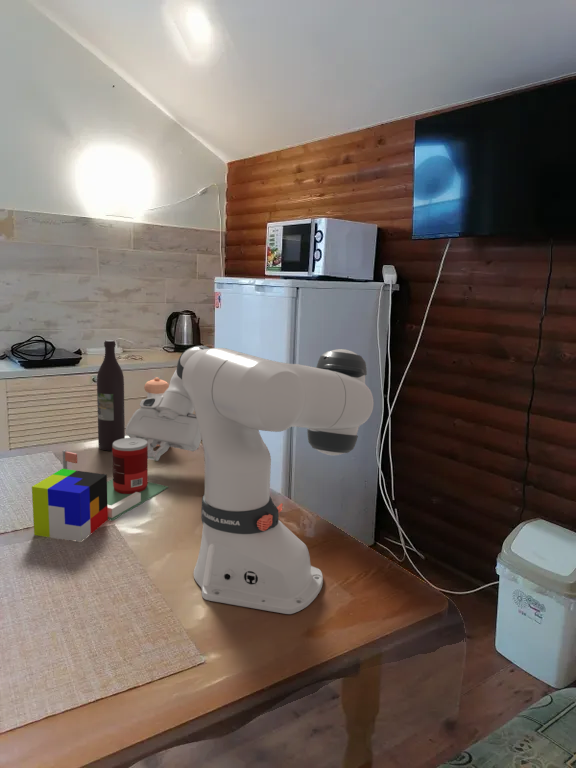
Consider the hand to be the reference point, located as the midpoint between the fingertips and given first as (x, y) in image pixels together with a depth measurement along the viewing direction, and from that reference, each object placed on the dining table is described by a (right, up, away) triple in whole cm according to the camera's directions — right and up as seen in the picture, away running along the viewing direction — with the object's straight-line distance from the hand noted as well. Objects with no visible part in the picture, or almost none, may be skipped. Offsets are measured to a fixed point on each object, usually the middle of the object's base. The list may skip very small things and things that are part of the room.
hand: (151, 458), depth 144 cm
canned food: (-3, -6, -6) cm, 9 cm away
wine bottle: (-16, 0, +21) cm, 27 cm away
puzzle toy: (-10, -11, -26) cm, 30 cm away
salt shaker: (-5, +1, +27) cm, 28 cm away
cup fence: (-7, -8, -14) cm, 18 cm away
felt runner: (-5, -7, -11) cm, 14 cm away
